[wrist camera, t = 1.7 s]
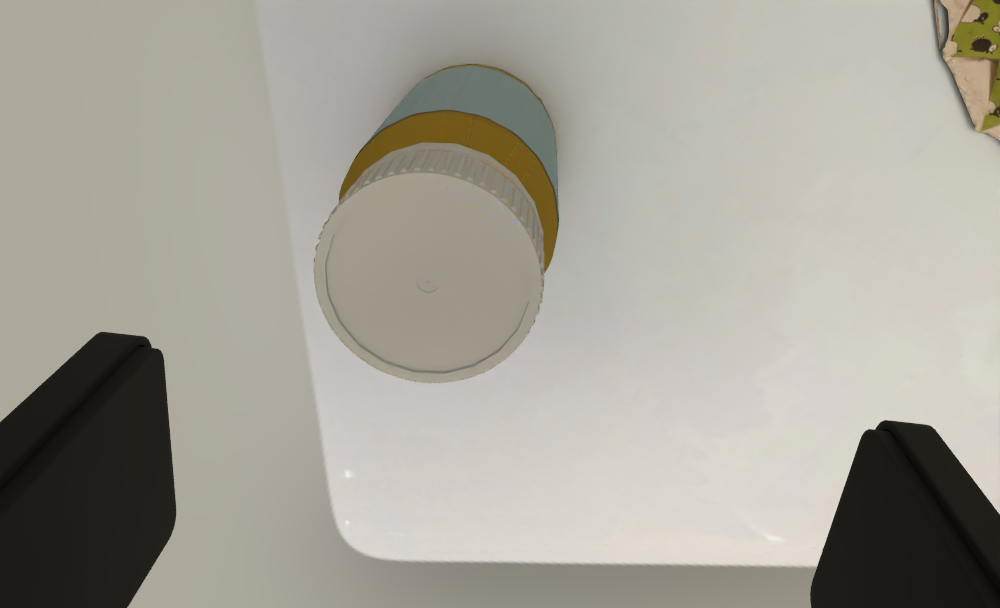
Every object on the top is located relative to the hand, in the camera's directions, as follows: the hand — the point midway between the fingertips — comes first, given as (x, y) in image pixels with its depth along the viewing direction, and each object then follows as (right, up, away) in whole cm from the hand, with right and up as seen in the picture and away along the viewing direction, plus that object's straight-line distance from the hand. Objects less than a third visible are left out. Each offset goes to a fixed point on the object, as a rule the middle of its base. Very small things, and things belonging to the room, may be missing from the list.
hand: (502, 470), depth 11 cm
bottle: (-1, +9, +25) cm, 26 cm away
